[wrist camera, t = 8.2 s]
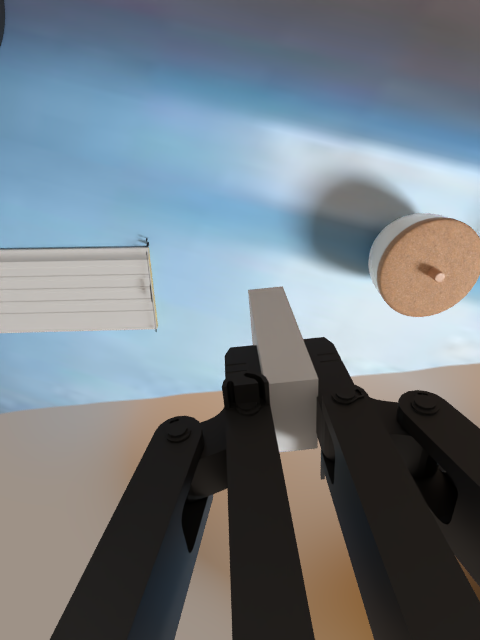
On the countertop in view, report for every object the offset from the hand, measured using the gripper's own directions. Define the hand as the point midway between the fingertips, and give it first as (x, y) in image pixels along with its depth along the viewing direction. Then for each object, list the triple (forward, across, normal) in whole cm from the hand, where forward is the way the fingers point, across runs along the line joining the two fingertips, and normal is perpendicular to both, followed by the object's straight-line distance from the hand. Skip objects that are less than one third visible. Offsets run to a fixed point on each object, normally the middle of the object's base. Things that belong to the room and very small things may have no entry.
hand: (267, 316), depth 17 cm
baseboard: (+29, -26, -8) cm, 40 cm away
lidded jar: (+29, +19, -8) cm, 35 cm away
